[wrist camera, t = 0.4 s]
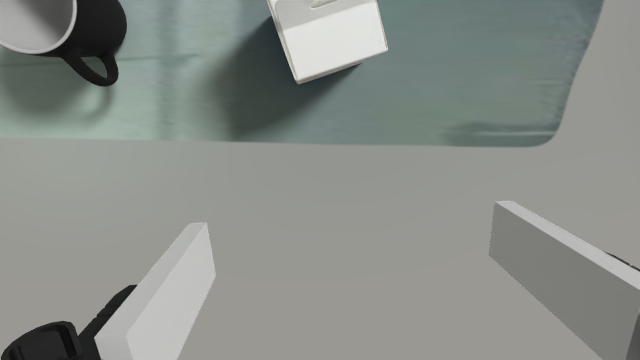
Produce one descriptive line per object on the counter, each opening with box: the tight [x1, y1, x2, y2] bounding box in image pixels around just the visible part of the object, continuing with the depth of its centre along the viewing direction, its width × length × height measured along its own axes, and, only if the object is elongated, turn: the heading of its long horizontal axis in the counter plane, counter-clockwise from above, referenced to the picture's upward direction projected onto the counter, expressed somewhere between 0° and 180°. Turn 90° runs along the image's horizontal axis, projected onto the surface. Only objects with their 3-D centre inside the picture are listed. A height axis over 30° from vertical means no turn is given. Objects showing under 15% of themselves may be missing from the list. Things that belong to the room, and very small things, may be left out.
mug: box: [0, 0, 127, 86], centre depth 30 cm, size 12×9×10 cm
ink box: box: [267, 0, 388, 85], centre depth 30 cm, size 9×8×13 cm
